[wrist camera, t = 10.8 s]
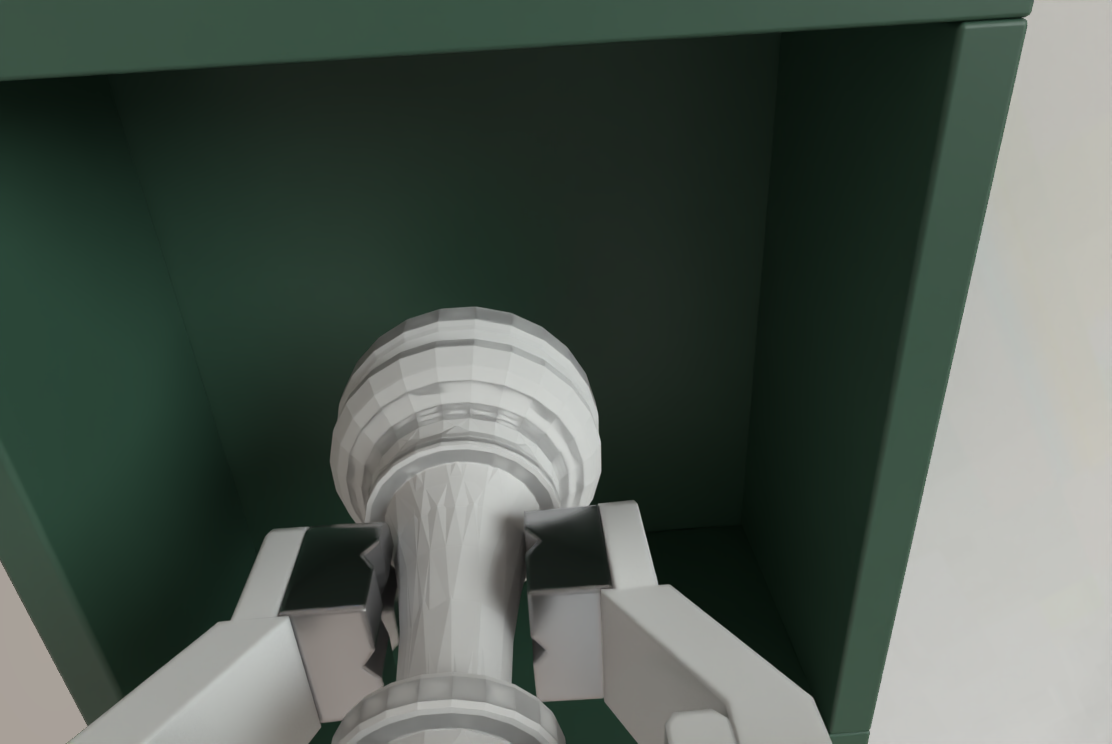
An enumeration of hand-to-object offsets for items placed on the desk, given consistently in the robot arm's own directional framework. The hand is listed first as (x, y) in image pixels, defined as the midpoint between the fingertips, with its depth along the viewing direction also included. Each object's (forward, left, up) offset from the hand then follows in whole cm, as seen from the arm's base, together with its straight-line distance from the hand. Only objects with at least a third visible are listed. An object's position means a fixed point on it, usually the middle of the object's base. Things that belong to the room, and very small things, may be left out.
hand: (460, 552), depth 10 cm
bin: (0, 0, -8) cm, 8 cm away
